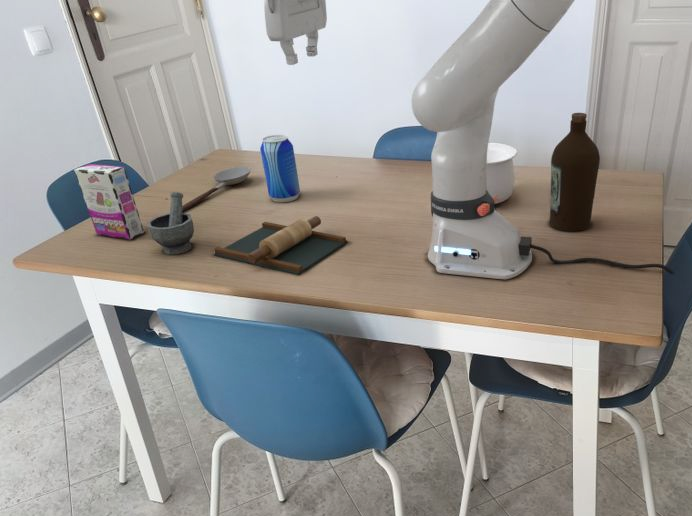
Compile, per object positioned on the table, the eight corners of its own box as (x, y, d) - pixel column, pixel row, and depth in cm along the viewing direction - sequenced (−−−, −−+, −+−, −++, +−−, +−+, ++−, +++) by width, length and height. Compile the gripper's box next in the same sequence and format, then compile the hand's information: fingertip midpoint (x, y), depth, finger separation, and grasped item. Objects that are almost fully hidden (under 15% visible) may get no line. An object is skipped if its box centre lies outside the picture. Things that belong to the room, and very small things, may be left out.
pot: (503, 217, 153) (505, 168, 147) (436, 211, 159) (435, 163, 152) (523, 188, 171) (525, 142, 164) (462, 183, 176) (461, 139, 169)
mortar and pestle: (184, 259, 141) (170, 207, 134) (147, 256, 142) (131, 205, 136) (209, 238, 150) (197, 189, 143) (174, 236, 152) (160, 188, 145)
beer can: (294, 204, 167) (283, 143, 158) (264, 202, 169) (252, 142, 160) (305, 193, 174) (296, 134, 165) (277, 192, 176) (266, 133, 167)
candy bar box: (146, 232, 154) (125, 166, 145) (131, 240, 151) (109, 173, 141) (111, 227, 158) (89, 162, 149) (95, 235, 154) (72, 169, 145)
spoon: (261, 176, 185) (258, 166, 184) (187, 222, 161) (183, 211, 159) (231, 176, 189) (228, 166, 188) (155, 221, 165) (151, 210, 163)
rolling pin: (326, 230, 149) (323, 212, 147) (261, 270, 133) (257, 251, 130) (311, 227, 151) (308, 210, 149) (245, 266, 135) (241, 247, 132)
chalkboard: (347, 242, 145) (346, 236, 144) (298, 275, 132) (297, 268, 131) (267, 226, 155) (266, 221, 154) (214, 255, 142) (212, 249, 141)
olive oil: (586, 214, 153) (597, 107, 139) (597, 231, 144) (610, 119, 131) (543, 216, 153) (549, 109, 139) (551, 234, 144) (559, 121, 131)
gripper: (282, -16, 109) (294, 69, 117) (328, -24, 126) (336, 51, 133) (250, -16, 111) (264, 69, 118) (299, -24, 127) (309, 51, 135)
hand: (302, 60), depth 126 cm, fingers open, 8 cm apart
